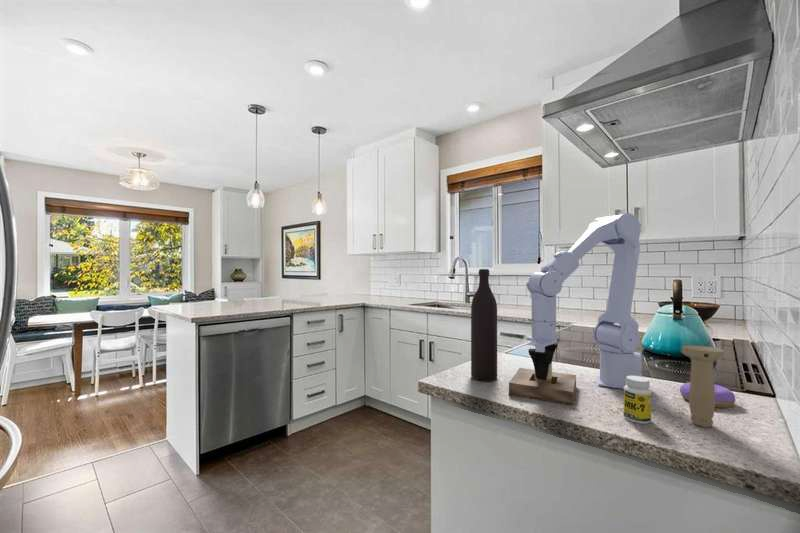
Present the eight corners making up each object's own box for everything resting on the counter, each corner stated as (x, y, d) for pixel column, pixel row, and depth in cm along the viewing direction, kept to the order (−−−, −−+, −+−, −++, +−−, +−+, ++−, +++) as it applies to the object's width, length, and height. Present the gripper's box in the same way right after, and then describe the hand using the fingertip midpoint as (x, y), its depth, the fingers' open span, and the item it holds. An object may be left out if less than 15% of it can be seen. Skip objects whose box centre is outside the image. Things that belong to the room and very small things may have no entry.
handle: (727, 432, 70) (727, 352, 70) (685, 426, 73) (685, 349, 73) (717, 422, 74) (718, 347, 74) (678, 417, 77) (679, 344, 77)
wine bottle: (501, 377, 103) (501, 269, 103) (489, 383, 98) (489, 269, 98) (479, 372, 108) (479, 268, 108) (466, 378, 103) (466, 269, 103)
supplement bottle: (620, 419, 76) (620, 378, 76) (627, 412, 79) (627, 373, 79) (648, 426, 73) (648, 383, 73) (653, 419, 76) (654, 378, 76)
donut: (718, 394, 90) (721, 375, 89) (743, 417, 81) (747, 397, 80) (671, 391, 92) (673, 373, 91) (690, 413, 83) (693, 393, 82)
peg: (552, 387, 94) (552, 363, 94) (550, 392, 90) (550, 367, 90) (535, 384, 96) (535, 361, 96) (533, 389, 92) (533, 365, 92)
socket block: (576, 386, 96) (576, 375, 96) (572, 405, 83) (572, 392, 83) (519, 378, 102) (519, 367, 102) (508, 395, 90) (508, 382, 90)
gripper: (531, 315, 101) (531, 365, 101) (521, 323, 88) (521, 380, 88) (559, 317, 98) (559, 369, 98) (554, 325, 85) (553, 385, 85)
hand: (543, 375), depth 93 cm, fingers open, 7 cm apart
